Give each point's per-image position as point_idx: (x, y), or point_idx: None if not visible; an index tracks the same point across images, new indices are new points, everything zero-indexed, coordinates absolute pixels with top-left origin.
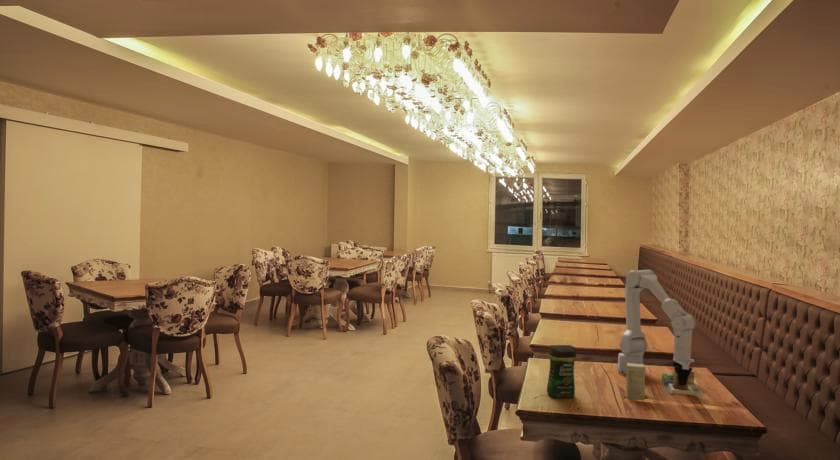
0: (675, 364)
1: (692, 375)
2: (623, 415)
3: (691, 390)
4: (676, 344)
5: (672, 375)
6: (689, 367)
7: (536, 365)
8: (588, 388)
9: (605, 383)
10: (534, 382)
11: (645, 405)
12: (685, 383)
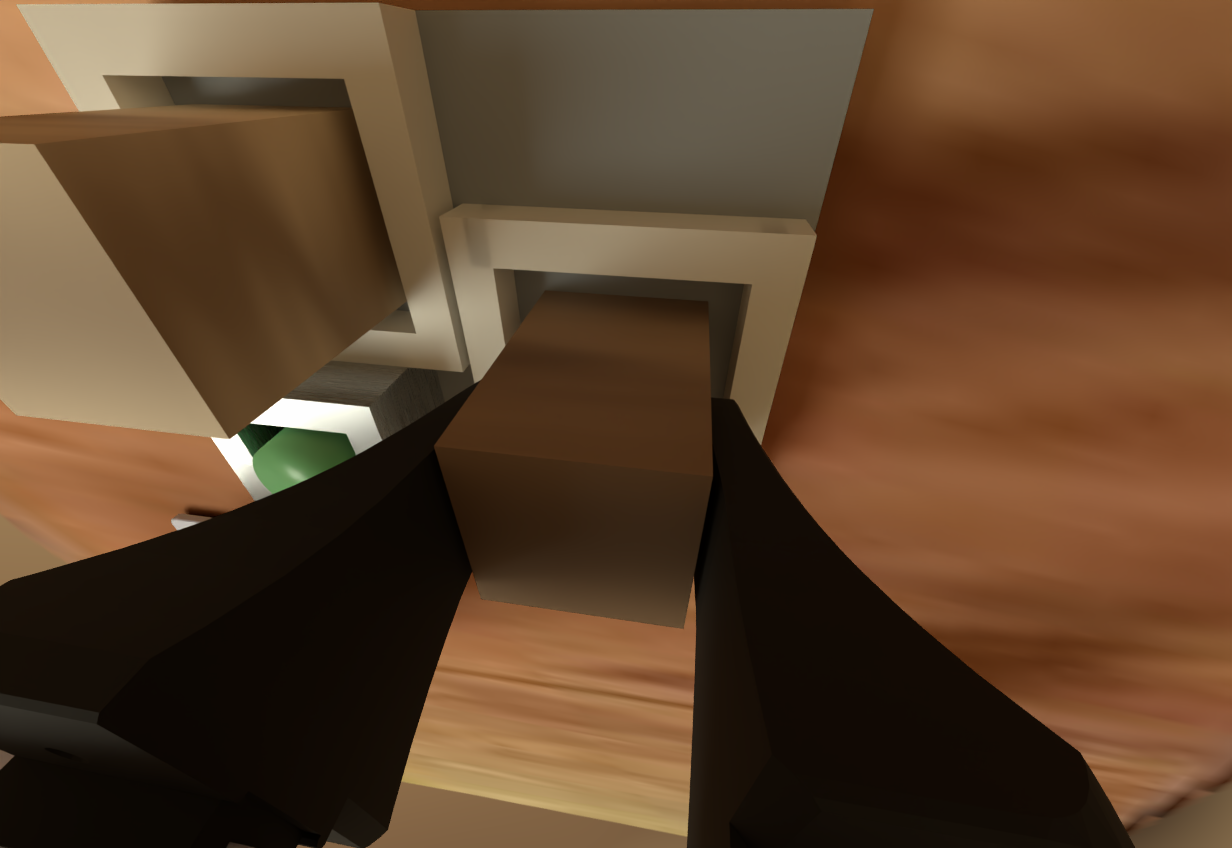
0: (378, 781)
1: (186, 182)
2: (1173, 774)
3: (734, 261)
4: None
5: (319, 466)
6: (805, 839)
7: (434, 784)
8: (682, 758)
9: (563, 701)
10: (657, 826)
11: (1004, 663)
12: (742, 426)
